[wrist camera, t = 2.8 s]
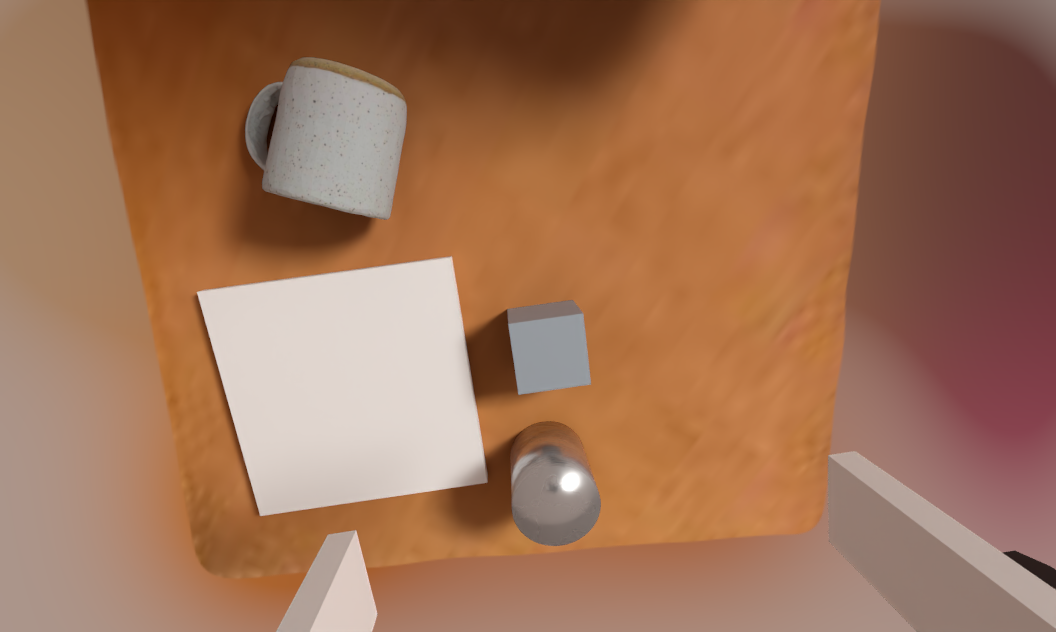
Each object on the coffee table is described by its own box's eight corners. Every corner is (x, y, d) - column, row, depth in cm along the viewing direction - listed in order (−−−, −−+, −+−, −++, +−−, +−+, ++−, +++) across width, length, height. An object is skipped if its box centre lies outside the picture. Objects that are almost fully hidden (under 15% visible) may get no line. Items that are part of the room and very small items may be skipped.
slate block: (572, 299, 37) (583, 313, 32) (579, 361, 38) (590, 384, 33) (507, 308, 37) (508, 324, 32) (516, 370, 38) (518, 394, 33)
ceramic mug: (421, 103, 34) (395, 71, 26) (400, 221, 35) (370, 223, 28) (264, 64, 33) (191, 19, 25) (250, 186, 34) (177, 179, 27)
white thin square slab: (451, 256, 36) (450, 257, 35) (487, 475, 40) (487, 482, 39) (205, 289, 35) (196, 292, 34) (266, 508, 39) (260, 516, 38)
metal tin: (579, 416, 39) (596, 460, 32) (587, 483, 40) (604, 538, 34) (505, 427, 39) (506, 473, 32) (515, 493, 40) (518, 551, 33)
